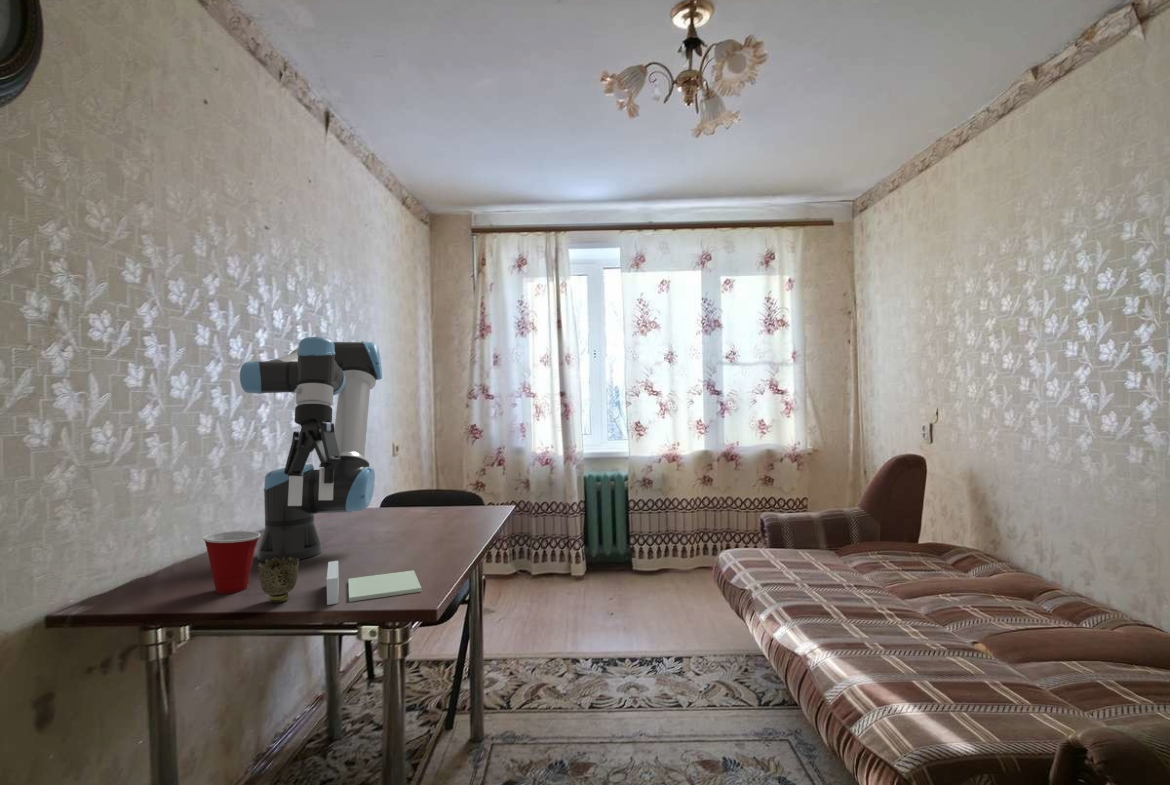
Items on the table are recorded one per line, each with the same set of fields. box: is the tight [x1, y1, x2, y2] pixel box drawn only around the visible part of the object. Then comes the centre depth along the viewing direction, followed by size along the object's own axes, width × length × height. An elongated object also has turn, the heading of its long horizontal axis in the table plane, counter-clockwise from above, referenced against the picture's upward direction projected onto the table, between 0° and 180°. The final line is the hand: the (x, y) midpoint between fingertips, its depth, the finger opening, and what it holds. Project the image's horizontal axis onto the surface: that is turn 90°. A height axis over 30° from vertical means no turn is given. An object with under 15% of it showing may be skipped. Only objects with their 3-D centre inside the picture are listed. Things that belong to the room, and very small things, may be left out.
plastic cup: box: [202, 530, 262, 595], centre depth 126 cm, size 11×11×12 cm
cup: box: [257, 557, 300, 604], centre depth 118 cm, size 8×7×8 cm
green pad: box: [347, 570, 422, 603], centre depth 126 cm, size 14×14×1 cm
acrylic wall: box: [326, 560, 340, 606], centre depth 122 cm, size 14×2×5 cm, turn 22°
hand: (309, 503), depth 124 cm, fingers open, 13 cm apart
